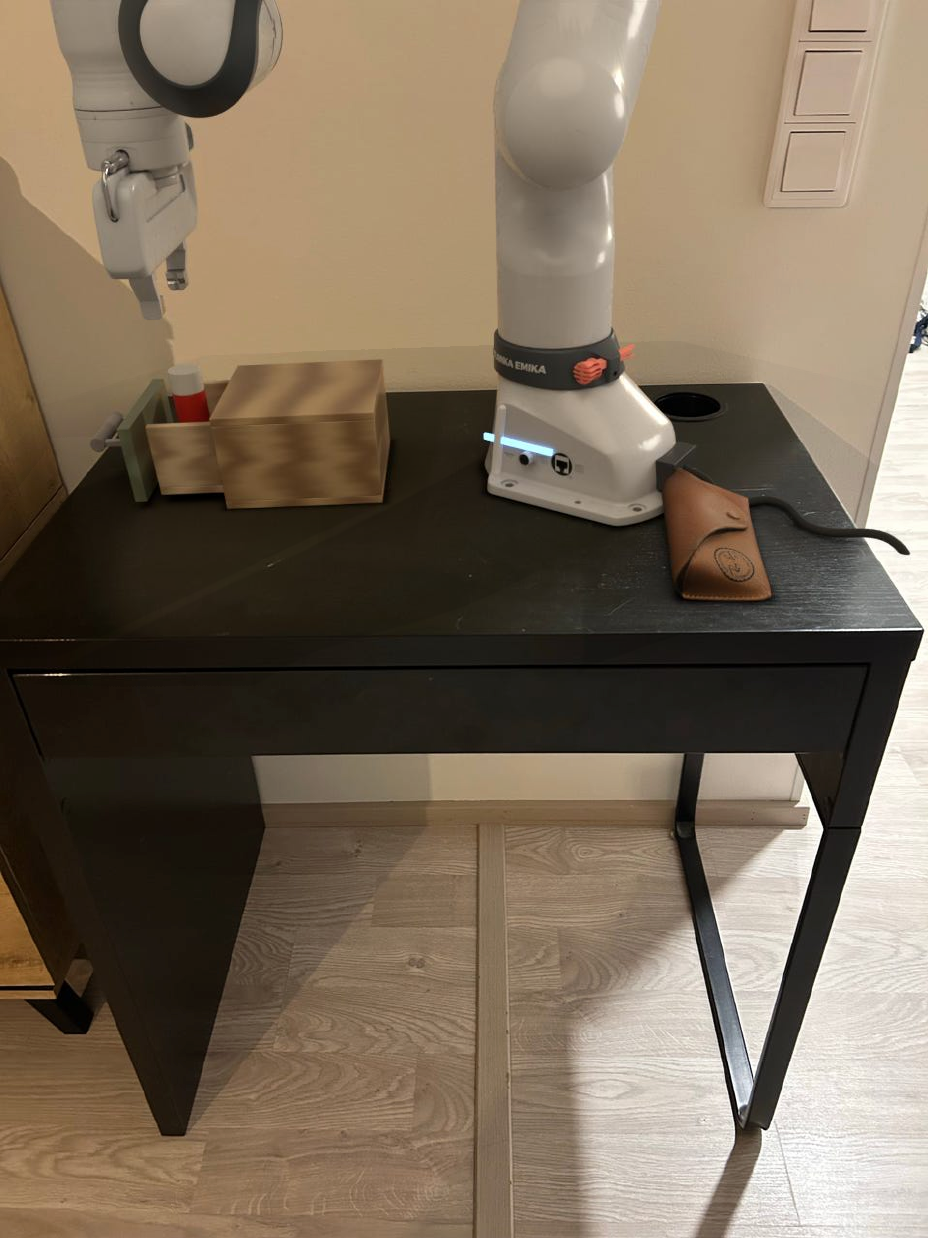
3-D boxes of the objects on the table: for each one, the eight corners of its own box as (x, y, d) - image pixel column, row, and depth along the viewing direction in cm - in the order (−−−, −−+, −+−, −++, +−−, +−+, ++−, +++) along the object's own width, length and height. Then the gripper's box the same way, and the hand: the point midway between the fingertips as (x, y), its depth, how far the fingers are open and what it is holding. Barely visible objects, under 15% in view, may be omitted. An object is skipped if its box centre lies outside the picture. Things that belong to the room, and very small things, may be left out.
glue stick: (224, 460, 101) (206, 367, 95) (198, 470, 99) (178, 376, 93) (207, 451, 102) (188, 360, 97) (182, 461, 101) (161, 369, 95)
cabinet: (227, 509, 96) (208, 418, 90) (252, 447, 108) (237, 365, 102) (382, 502, 95) (373, 412, 90) (390, 442, 107) (382, 358, 102)
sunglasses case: (779, 598, 78) (746, 535, 75) (699, 631, 80) (664, 572, 77) (747, 495, 92) (718, 439, 89) (680, 526, 95) (650, 473, 92)
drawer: (92, 503, 96) (71, 431, 91) (129, 447, 107) (112, 380, 102) (279, 496, 96) (267, 423, 91) (297, 440, 107) (287, 373, 102)
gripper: (138, 161, 75) (174, 336, 83) (196, 124, 92) (221, 272, 99) (58, 164, 75) (102, 338, 83) (131, 127, 92) (161, 274, 100)
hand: (167, 302), depth 91 cm, fingers open, 8 cm apart
